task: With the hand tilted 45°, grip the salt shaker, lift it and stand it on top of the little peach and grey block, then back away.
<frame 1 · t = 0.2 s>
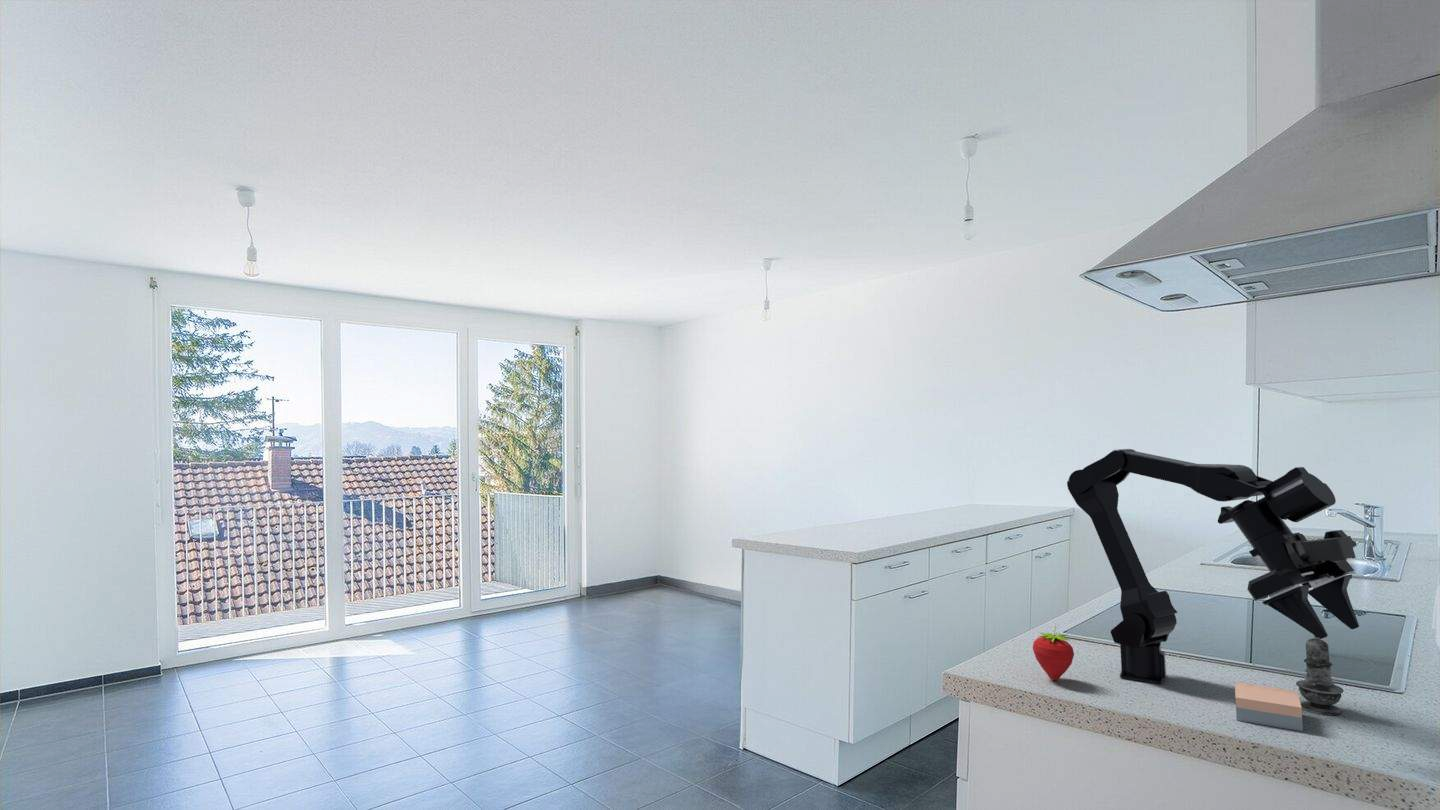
hand: (1340, 632, 105), 15 cm above the counter, tool tilted 35°, fingers open, 9 cm apart
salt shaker: (1320, 710, 115), on the counter
strawberry: (1054, 681, 131), on the counter
peach and grey block: (1267, 716, 112), on the counter
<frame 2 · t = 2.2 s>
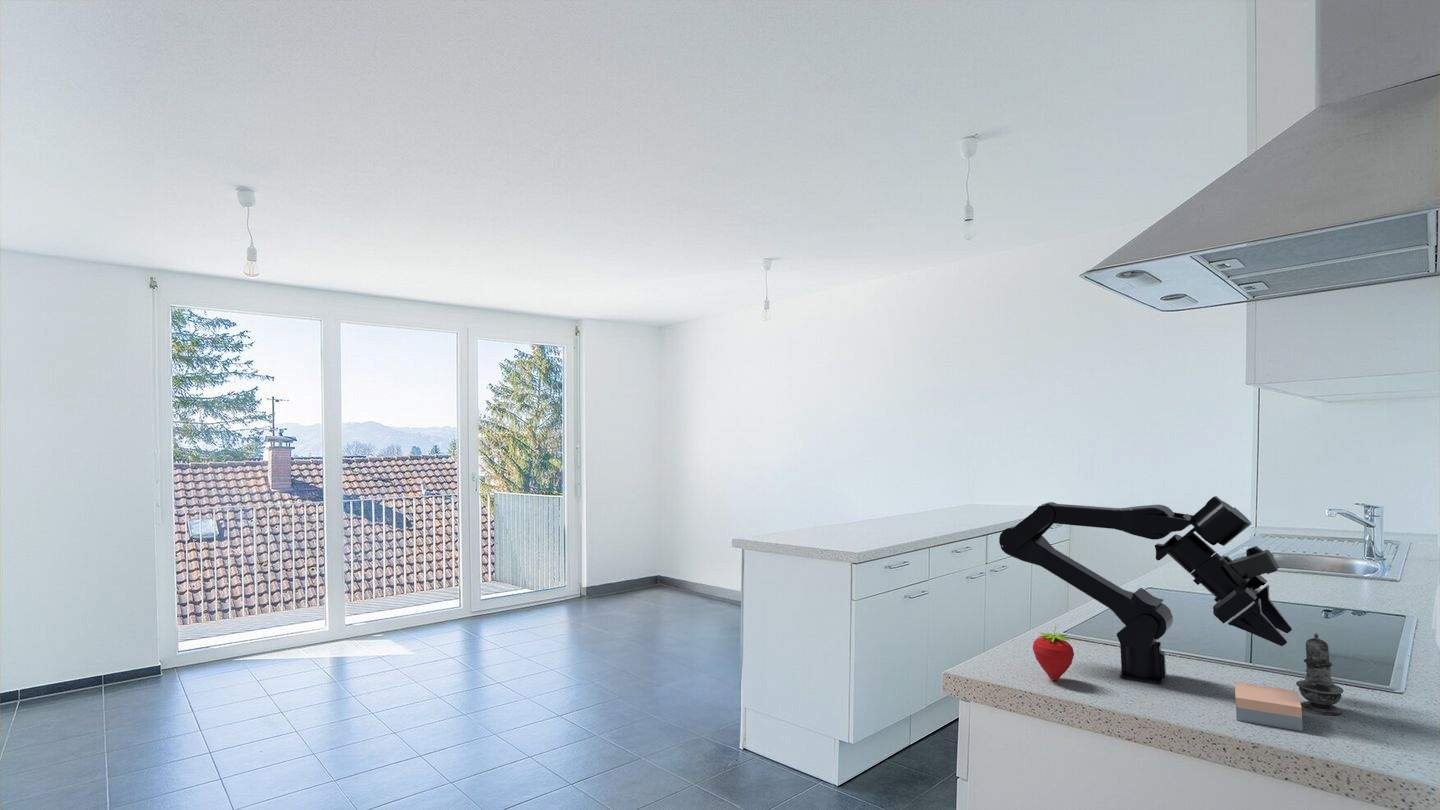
hand: (1287, 637, 118), 11 cm above the counter, tool tilted 45°, fingers open, 9 cm apart
nothing on the counter moved.
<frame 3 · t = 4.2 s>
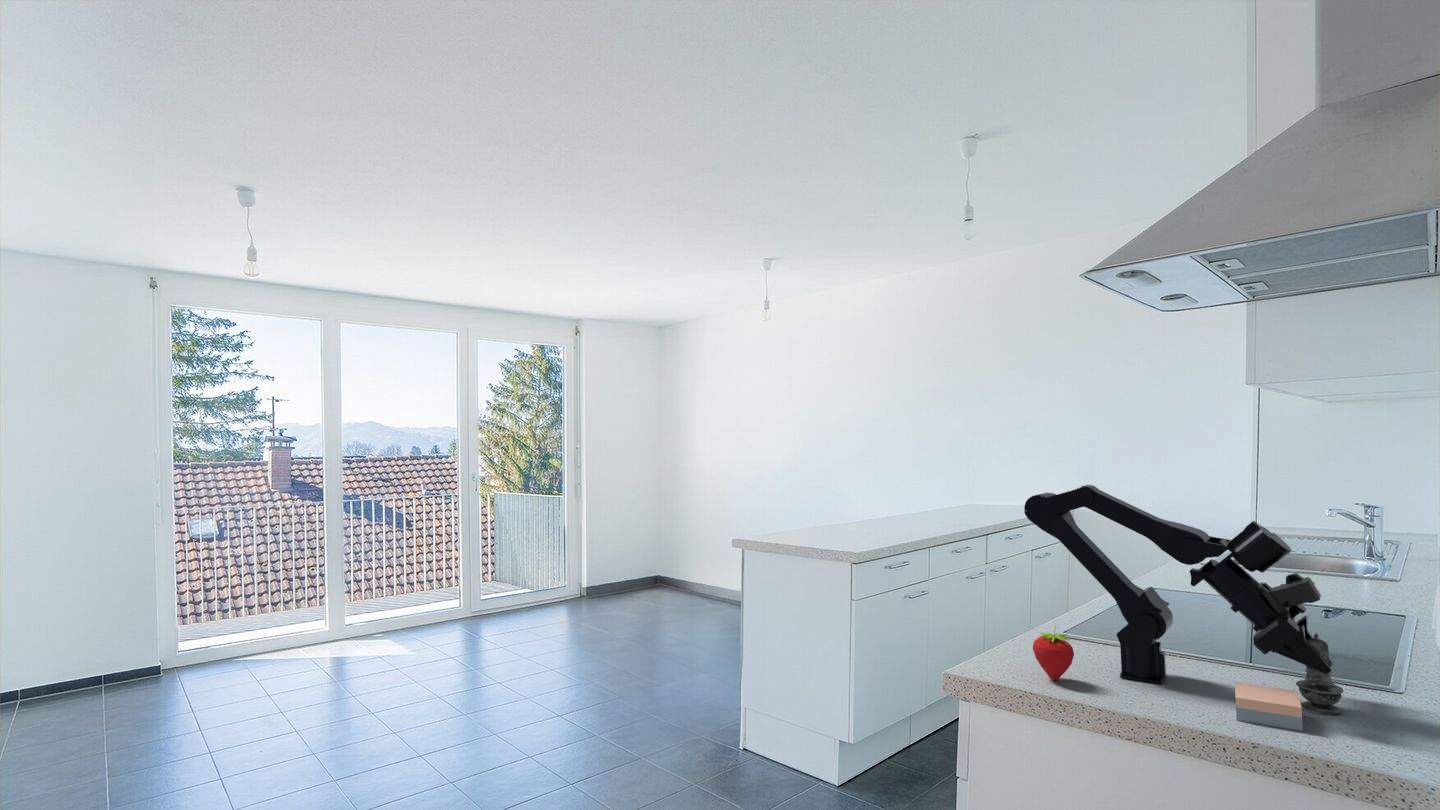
hand: (1329, 668, 114), 7 cm above the counter, tool tilted 45°, fingers closed on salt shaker, 4 cm apart
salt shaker: (1320, 710, 115), on the counter, touching gripper
everything else where it was.
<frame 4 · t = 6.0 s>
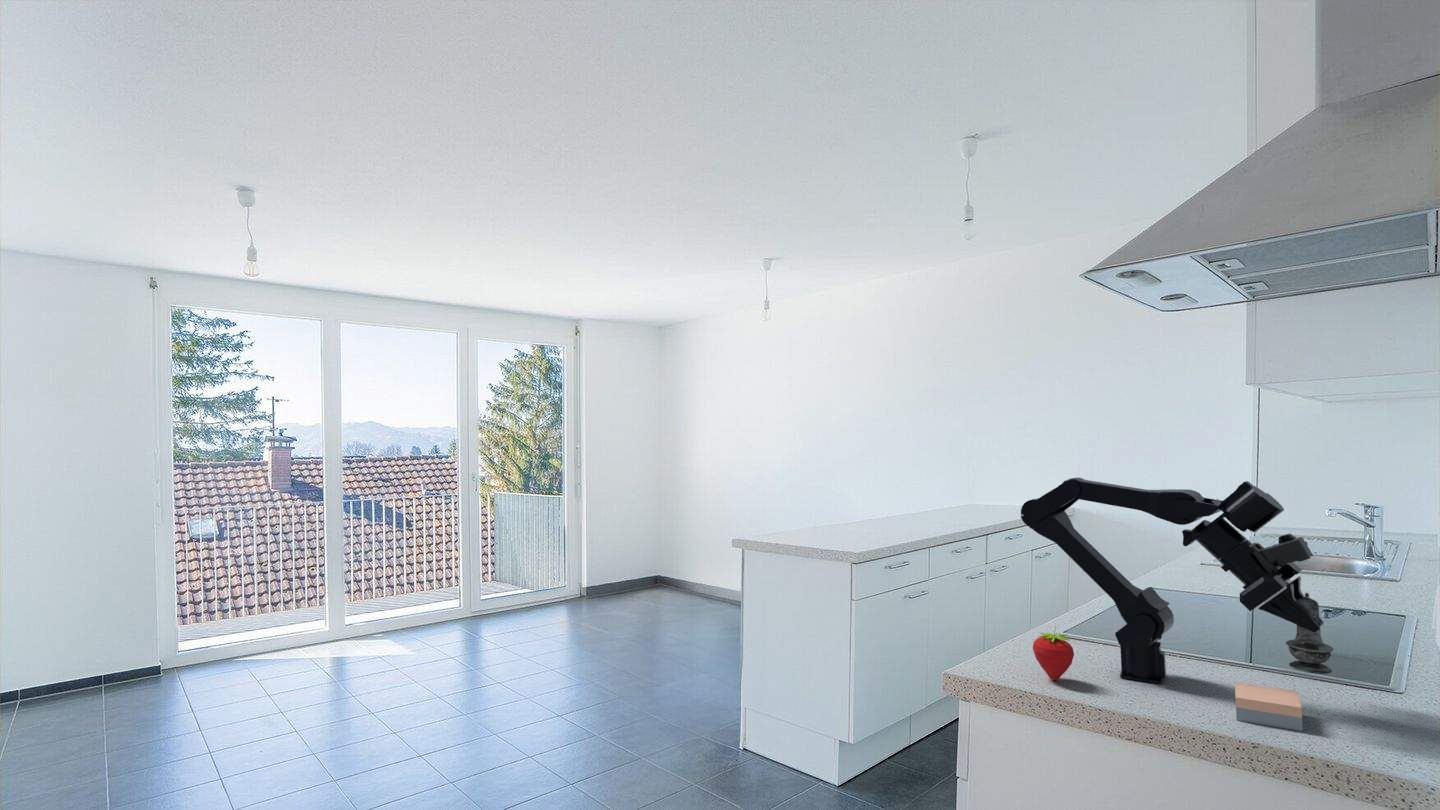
hand: (1319, 627, 114), 13 cm above the counter, tool tilted 45°, fingers closed on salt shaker, 4 cm apart
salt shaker: (1310, 669, 115), point 6 cm above the counter, touching gripper
everything else where it was.
when the fingers open (11 cm above the counter, at t = 7.8 s): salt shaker drops 1 cm, resting on peach and grey block.
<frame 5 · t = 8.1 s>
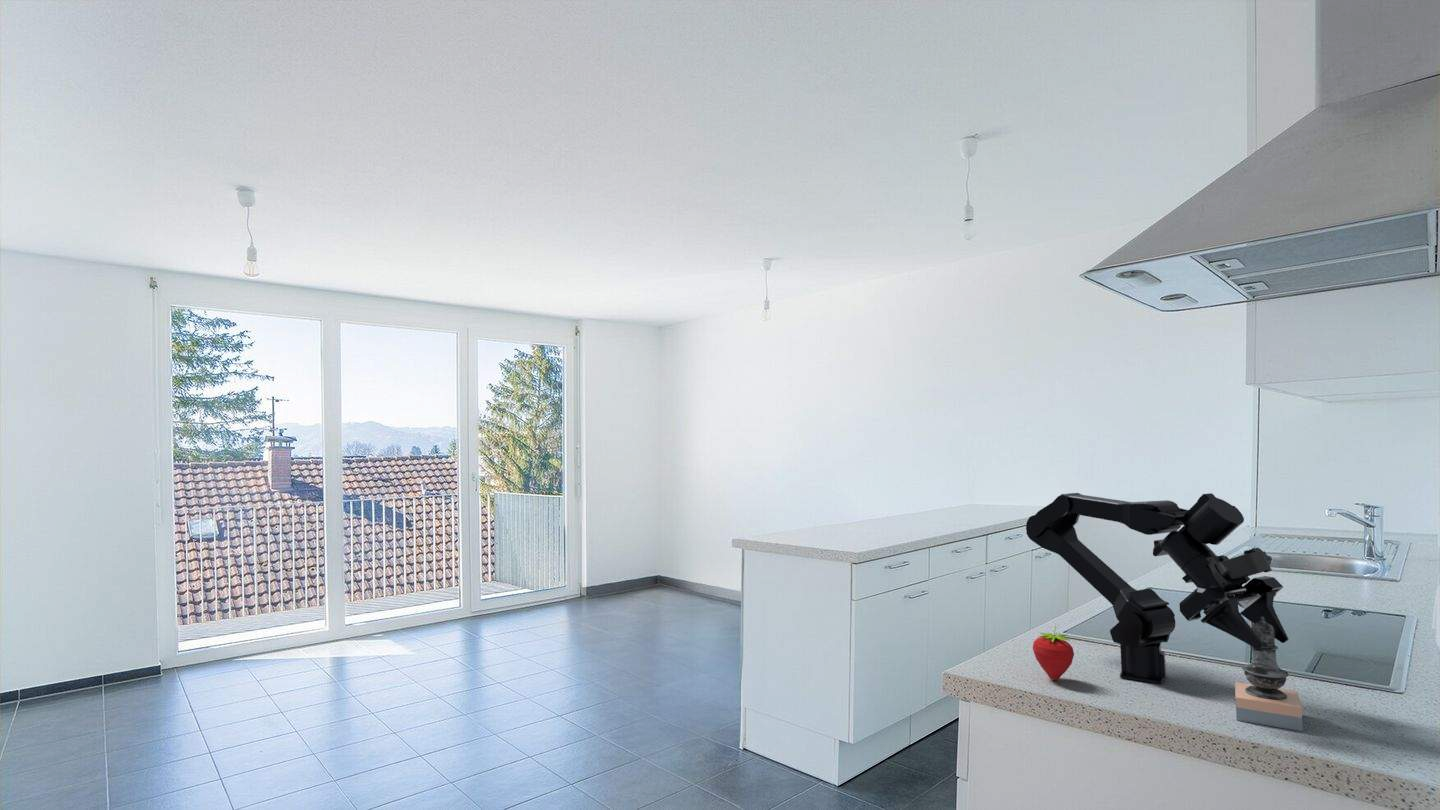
hand: (1273, 644, 112), 12 cm above the counter, tool tilted 45°, fingers open, 6 cm apart
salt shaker: (1265, 694, 113), point 3 cm above the counter, touching peach and grey block
everything else where it was.
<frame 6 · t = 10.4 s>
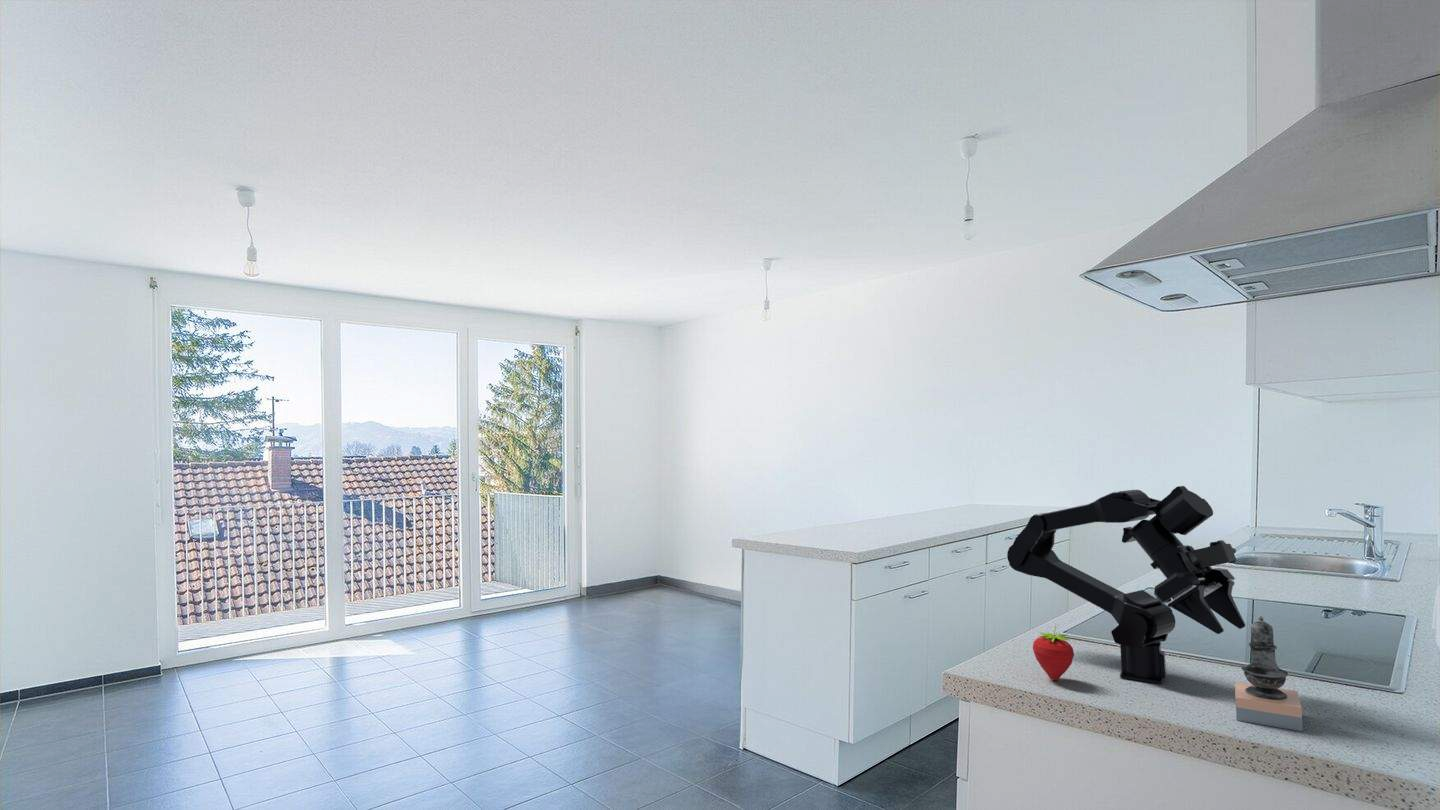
hand: (1232, 630, 119), 12 cm above the counter, tool tilted 40°, fingers open, 9 cm apart
nothing on the counter moved.
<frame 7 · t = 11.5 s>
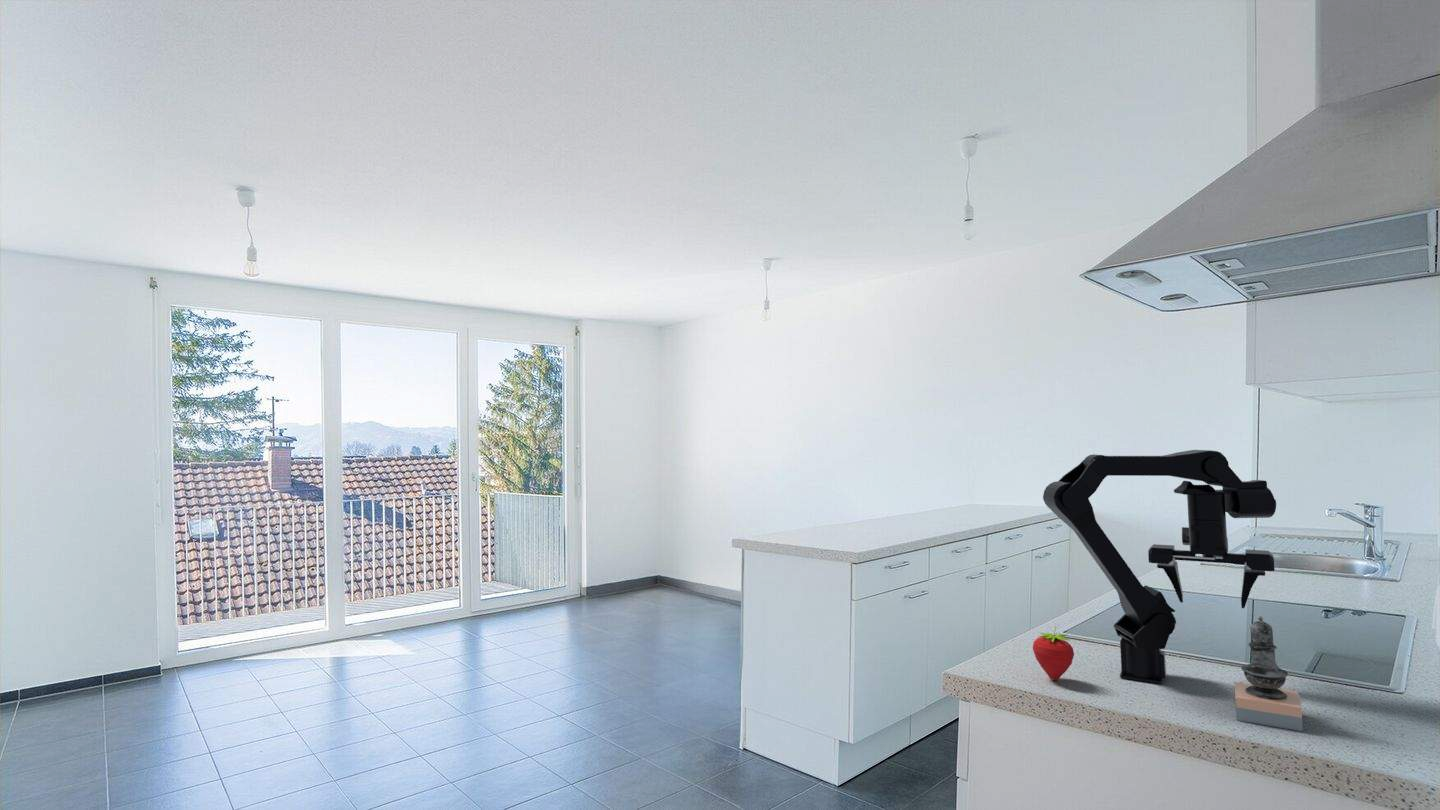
hand: (1211, 604, 131), 13 cm above the counter, tool pointing down, fingers open, 9 cm apart
nothing on the counter moved.
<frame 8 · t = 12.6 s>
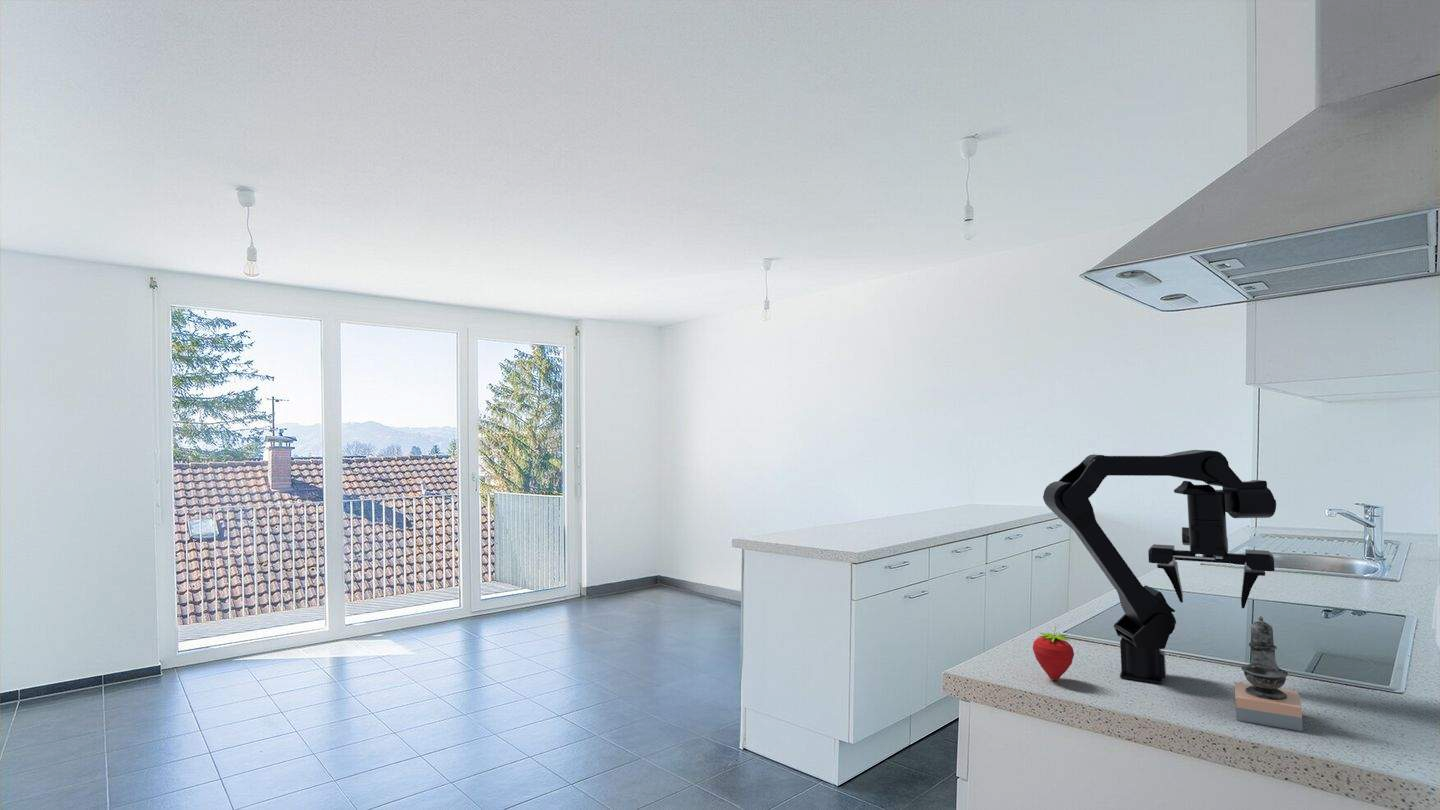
hand: (1211, 604, 131), 13 cm above the counter, tool pointing down, fingers open, 9 cm apart
nothing on the counter moved.
at the end: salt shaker 0.2 cm from the peach and grey block (horizontally); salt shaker point 3.3 cm above the counter; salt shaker tilted 0° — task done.
